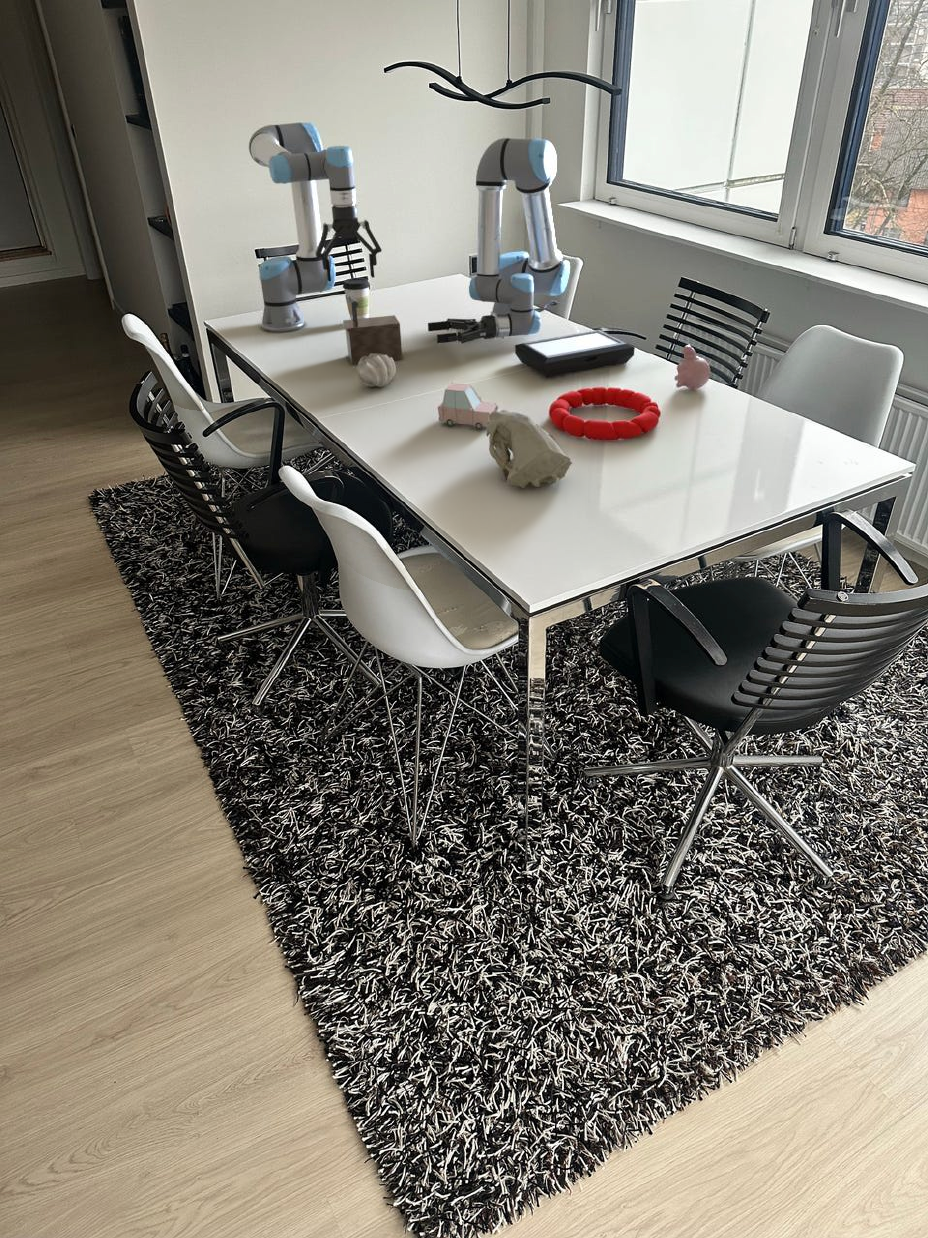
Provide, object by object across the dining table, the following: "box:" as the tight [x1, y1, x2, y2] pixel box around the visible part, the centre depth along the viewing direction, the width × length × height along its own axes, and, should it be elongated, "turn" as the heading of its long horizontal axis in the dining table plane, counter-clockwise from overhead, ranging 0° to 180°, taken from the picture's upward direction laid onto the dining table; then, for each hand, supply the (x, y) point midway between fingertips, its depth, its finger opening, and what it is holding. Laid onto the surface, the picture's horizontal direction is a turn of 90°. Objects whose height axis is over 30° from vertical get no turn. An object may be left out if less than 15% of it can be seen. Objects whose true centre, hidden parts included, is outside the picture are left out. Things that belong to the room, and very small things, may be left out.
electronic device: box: [514, 329, 636, 379], centre depth 282 cm, size 32×6×20 cm
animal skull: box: [485, 409, 573, 489], centre depth 216 cm, size 17×25×20 cm
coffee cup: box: [342, 277, 371, 320], centre depth 323 cm, size 10×10×15 cm
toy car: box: [437, 382, 499, 431], centre depth 243 cm, size 9×15×10 cm, turn 70°
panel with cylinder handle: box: [343, 296, 401, 332], centre depth 286 cm, size 17×10×9 cm, turn 104°
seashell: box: [356, 353, 397, 388], centre depth 269 cm, size 10×15×10 cm
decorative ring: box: [548, 386, 661, 442], centre depth 242 cm, size 7×30×30 cm
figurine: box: [674, 344, 711, 390], centre depth 259 cm, size 9×11×12 cm
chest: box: [345, 325, 403, 366], centre depth 291 cm, size 17×10×11 cm, turn 104°
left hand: (351, 278), depth 279 cm, fingers open, 13 cm apart
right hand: (432, 332), depth 294 cm, fingers open, 13 cm apart
